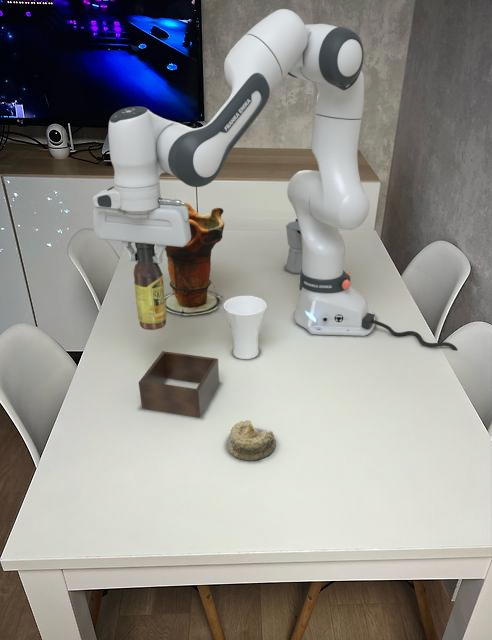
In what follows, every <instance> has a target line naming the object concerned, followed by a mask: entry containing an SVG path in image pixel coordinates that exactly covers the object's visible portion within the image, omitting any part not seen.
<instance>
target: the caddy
mask: <svg viewBox="0 0 492 640" xmlns="http://www.w3.org/2000/svg"><path fill="white" fill-rule="evenodd" d="M219 368H220V367H219V358H215V357H208V356H201V355H196V354H195V355H193V354H186V353H179V352H173V351H165V350H162V351H161V352H160V353H159V355H157V358H156V359H155V360H154V362H152V364H151V366H150V367H149V368H148V369H147V370H146V372H145V373H144V374H143V376H142V377H141V378H140V380H139V381H138V389H139V397H140V403H141V409H142V410H149V411H155V412H161V413H168V414H173V415H180V416H187V417H193V418H202V415H203V414H204V412H205V410H206V408H207V407H208V405H209V403H210V401H211V399H212V398H213V397H214V394H215V392H216V391H217V389H218V387H219V386H220V374H219V373H220V371H219V370H220V369H219ZM167 379H168V380H169V379H170V380H176V381H184V382H191V383H198V385H197V386H196V388H194V387H185V386H180V385H173V384H166V383H165V382H166V380H167Z"/></svg>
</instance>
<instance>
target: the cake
mask: <svg viewBox="0 0 492 640" xmlns="http://www.w3.org/2000/svg"><path fill="white" fill-rule="evenodd" d="M228 438H229V439H228V441H227V446H226V447H227V450H228V452H229V453H230V455H232V456H233V457H234V458H236V459H239V460H243V461H248V462H249V461H258V460H262V459H264V458H266V457H268V456H270V455H271V454H272V453H273V451H275V449H276V445H277V442H276V438H275V435H274V432H273V431H272V430H270V429H269V430H268V431H267V430H265V429H261V428H255V427H254V425H253V423H252V421H251V420H248V419H246V420H240V421H239V422H236V423H235V424H234V425H233V426H232V427H231V429H230V433H229V435H228Z"/></svg>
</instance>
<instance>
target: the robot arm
mask: <svg viewBox="0 0 492 640" xmlns="http://www.w3.org/2000/svg"><path fill="white" fill-rule="evenodd" d="M364 53H365V51H364V46H363V42H362V39H361V36H359V35H358V34H357V33H356V32H355V31H353V30H352V29H349V28H347V27H344V26H335V25H332V24H327V23H317V24H315V23H312V24H308V23H307V24H305V22H304V21H303V20H302V18H301V17H300V16H299V15H298V14H297V13H296V12H294V11H292V10H291V9H287V8H280V9H277V10H274V12H273V11H272V12H271V13H270V14H268V15H267V16H266V17H264V18H263V19H262V20H260V21H259V22H257V23H256V24H255V25H254V26H253V27H251V29H249V30H248V31H247V32H246V33H245V34H244V35H243V36H242V37H240V39H239V40H238V41H237V42H236V44H234V46H233V47H232V48H231V49H230V50H229V52H228V53H227V56H226V58H225V59H224V65H223V68H224V69H223V71H224V77H225V81H226V83H227V85H228V87H229V89H230V90H231V93H230V95H229V97H228V98H227V100H226V101H225V102H224V103H223V105H222V106H221V107H220V108H219V110H217V112H216V114H215V115H214V116H213V117H212V118H211V120H209V122H208V123H207V124H205V125H203V126H201V127H196V128H195V127H194V128H193V127H190V126H187V125H185V124H183V123H180V122H176V121H173V120H170V119H166V118H163V117H162V116H159V115H157V114H155V113H153V112H152V111H151V110H150V109H148V108H147V107H144V106H128V107H125V108H121V109H119V110H117V111H115V112H114V113H113V114H112V115H111V116H110V118H109V121H108V129H107V130H108V146H109V147H108V148H109V157H110V162H111V165H112V167H113V171H114V174H113V175H114V176H113V185H111V186H109V187H106V188H104V189H102V190H101V191H99V192H97V193H96V194H95V195H94V196H92V204H93V206H94V209H93V211H92V223H93V232H94V234H95V236H96V237H97V238H98V239H99V240H105V241H115V242H121V246H122V248H123V249H124V251H125V252H126V253H127V254H128V260H129V262H136V263H137V261H138V259H137V250H136V249H134V247H133V245H132V243H134V244H135V243H146V244H155V247H156V250H158V251H157V252H155V255H153V263H155V264H158V265H161V264H162V263H163V261H164V260H163V259H164V258H163V254H164V252H165V248H166V245H167V246H177V247H184V246H185V245H186V244H187V243H188V242H189V241H190V239H191V231H190V225H189V221H188V219H189V209H188V207H187V205H186V204H185V203H183V202H184V201H182V200H181V199H177V198H175V199H170V198H163V197H162V193H161V185H160V176H161V175H162V174H169V175H171V176H173V177H174V178H176V179H178V180H179V181H181V183H184V184H185V185H186V186H189V187H193V188H202V187H205V186H207V185H209V184H211V183H212V182H214V180H215V179H216V178H217V177H218V176H219V174H220V173H221V171H222V169H223V166H224V164H225V162H226V160H227V158H228V156H229V154H230V153H231V151H232V149H233V148H234V147H235V146H236V144H238V142H239V140H240V139H241V138H242V137H243V135H244V134H245V133H246V132H247V131H248V129H249V128H250V126H251V125H252V124H253V123H254V122H255V120H256V119H257V118H258V117H259V115H260V114H261V112H262V111H263V109H264V108H265V107H266V105H267V103H268V101H269V99H270V94H271V93H272V91H273V90H274V89H275V88H276V86H278V85H279V83H280V82H282V80H283V79H284V78H285V77H286V76H287V75H288V76H290V77H292V78H294V79H295V78H296V79H301V80H304V81H307V82H310V83H315V84H316V88H317V97H316V101H315V102H316V103H315V108H314V109H315V111H314V117H313V124H312V125H313V126H312V134H311V141H310V142H311V143H310V149H311V152H312V154H313V156H314V158H315V160H316V162H317V166H318V170H314V169H313V170H311V169H304V170H299V171H297V172H296V173H295V174H293V176H292V177H291V178H290V179H289V182H288V185H287V189H286V195H287V199H288V201H289V203H290V204H291V207H292V208H293V210H294V212H295V215H296V219H298V224H299V228H300V232H301V237H302V269H301V271H300V274H299V279H298V280H299V281H298V287H299V298H298V303H297V306H296V310H295V312H294V316H293V320H294V322H295V323H296V324H298V325H299V326H300V327H302V328H304V329H306V330H307V331H308V333H310V334H311V335H320V336H321V335H323V336H326V335H328V336H355V337H356V336H359V337H360V336H362V337H364V336H367V335H369V334H371V333H372V332H373V331H374V328H375V326H376V325H377V326H379V327H382V328H384V329H385V330H387V331H388V332H389V333H390V334H391V335H393V336H395V337H405V336H408V335H410V336H414V337H416V338H417V340H418V341H419V343H420V344H421V345H423V346H425V347H430V348H436V347H437V348H438V347H449V348H451V349H452V350H453V351H456V352H457V351H458V350H459V349H458V348H457V346H455V345H454V344H453V343H451V342H447V341H441V342H440V341H439V342H428V341H425V340H424V338H423V337H422V336H421V334H420V333H419V332H417V331H414V330H406V331H402V332H397V331H395V330H394V329H393V328H392V327H391V326H389V325H388V324H386V323H383V322H382V321H378V320H376V316H375V314H376V313H375V314H374V312H373V311H371V310H370V309H369V306H368V301H367V298H366V297H365V296H364V295H363V294H362V293H360V292H359V291H358V290H357V289H355V288H354V287H353V286H352V285H351V272H350V271H348V273H347V272H346V271H345V270H344V266H345V255H346V244H345V241H344V239H343V237H342V234H341V233H340V231H339V230H343V231H344V230H346V231H354V230H356V229H358V228H360V227H361V226H362V224H364V222H365V221H366V220H367V217H368V215H369V213H370V200H369V197H368V195H367V194H366V193H367V192H365V190H364V187H363V184H362V182H361V177H360V172H359V171H360V170H359V164H358V163H359V162H358V151H359V150H358V149H359V141H360V133H361V125H362V120H363V112H364V104H365V102H364V101H365V77H364V73H363V71H362V68H363V66H364ZM181 204H182V205H181Z"/></svg>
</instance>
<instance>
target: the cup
mask: <svg viewBox="0 0 492 640" xmlns="http://www.w3.org/2000/svg"><path fill="white" fill-rule="evenodd" d="M267 306H268V305H267V302H266V301H265V300H264V299H263V298H261V297H259V296H258V297H257V296H253V295H237V296H232V297H230V298H228V299H227V300H225V302H224V303H223V309H224V311H225V314H226V317H227V319H228V322H229V325H230V329H231V333H232V340H233V347H232V354H233V356H234V357H236V358H238V359H240V360H250V359H254V358H256V357H257V356H258V355H259V354H260V353H259V333H260V328H261V324H262V321H263V318H264V315H265V313H266V309H267Z"/></svg>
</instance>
